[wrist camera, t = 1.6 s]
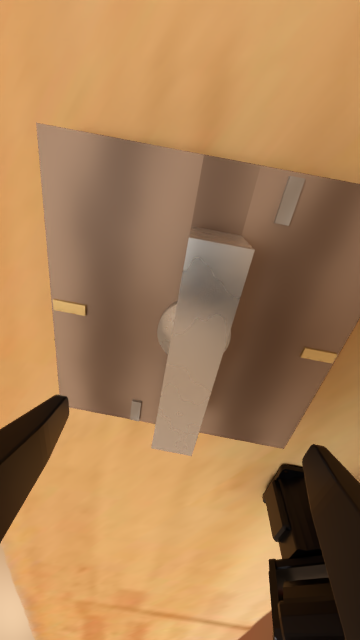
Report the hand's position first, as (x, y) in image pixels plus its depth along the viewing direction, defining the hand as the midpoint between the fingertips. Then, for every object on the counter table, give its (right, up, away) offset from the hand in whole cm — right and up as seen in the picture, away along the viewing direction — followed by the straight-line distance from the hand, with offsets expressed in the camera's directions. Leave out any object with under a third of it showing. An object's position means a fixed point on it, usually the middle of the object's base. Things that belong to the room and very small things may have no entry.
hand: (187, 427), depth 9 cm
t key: (+1, +4, +8) cm, 9 cm away
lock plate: (+1, +5, +9) cm, 10 cm away
